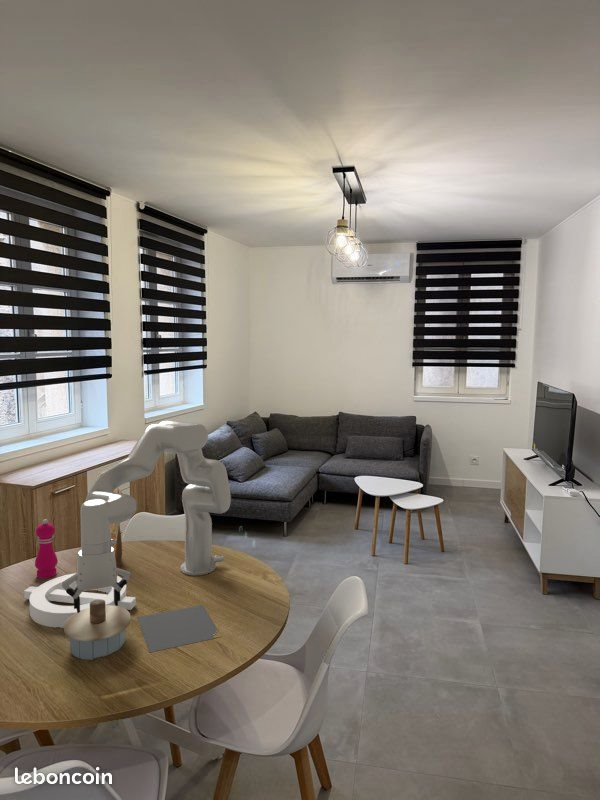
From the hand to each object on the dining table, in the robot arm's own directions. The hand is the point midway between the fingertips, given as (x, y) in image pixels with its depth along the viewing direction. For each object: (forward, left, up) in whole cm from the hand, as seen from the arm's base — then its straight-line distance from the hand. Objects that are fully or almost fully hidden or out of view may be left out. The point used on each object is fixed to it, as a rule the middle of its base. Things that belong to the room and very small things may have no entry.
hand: (97, 607), depth 149 cm
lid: (0, 0, -5) cm, 5 cm away
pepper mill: (+12, -53, -11) cm, 55 cm away
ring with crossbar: (+3, -26, -11) cm, 29 cm away
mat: (-22, 0, -11) cm, 25 cm away
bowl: (0, 0, -11) cm, 11 cm away
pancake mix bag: (-11, -55, -11) cm, 57 cm away
